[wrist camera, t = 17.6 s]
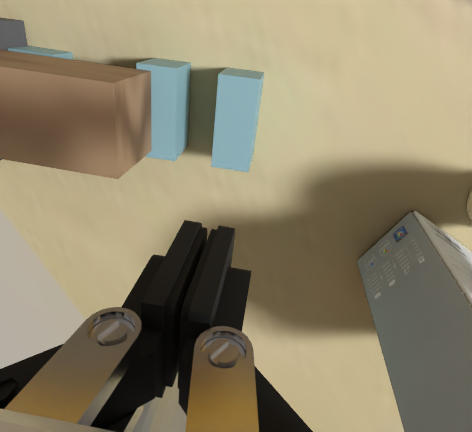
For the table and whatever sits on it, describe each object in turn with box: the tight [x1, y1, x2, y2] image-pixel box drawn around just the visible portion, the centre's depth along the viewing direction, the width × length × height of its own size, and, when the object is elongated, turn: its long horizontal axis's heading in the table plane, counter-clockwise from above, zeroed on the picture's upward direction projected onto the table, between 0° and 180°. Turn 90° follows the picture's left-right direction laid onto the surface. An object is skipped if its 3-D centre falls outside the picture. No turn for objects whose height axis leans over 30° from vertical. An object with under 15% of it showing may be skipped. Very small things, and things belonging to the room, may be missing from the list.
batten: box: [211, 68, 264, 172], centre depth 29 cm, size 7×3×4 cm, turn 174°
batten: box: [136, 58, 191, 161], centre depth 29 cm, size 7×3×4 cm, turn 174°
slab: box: [0, 50, 152, 179], centre depth 25 cm, size 6×12×6 cm, turn 84°
